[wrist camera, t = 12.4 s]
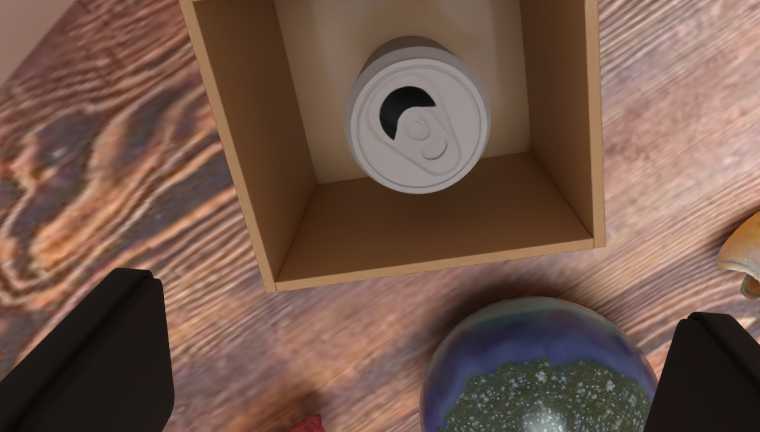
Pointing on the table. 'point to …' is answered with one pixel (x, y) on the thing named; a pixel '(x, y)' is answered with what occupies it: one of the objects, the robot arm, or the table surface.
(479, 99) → the beverage can
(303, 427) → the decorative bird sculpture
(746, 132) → the table surface
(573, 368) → the vase
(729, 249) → the shell
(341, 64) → the carton
